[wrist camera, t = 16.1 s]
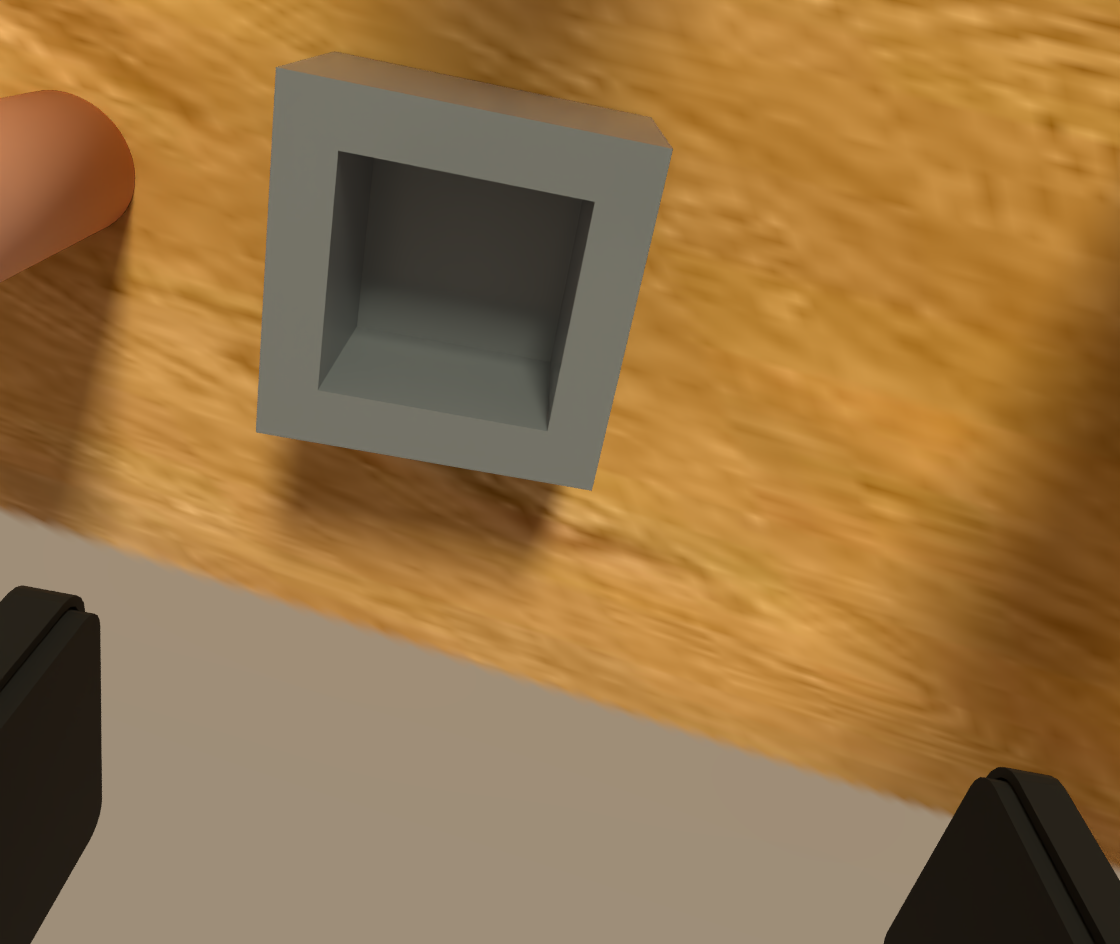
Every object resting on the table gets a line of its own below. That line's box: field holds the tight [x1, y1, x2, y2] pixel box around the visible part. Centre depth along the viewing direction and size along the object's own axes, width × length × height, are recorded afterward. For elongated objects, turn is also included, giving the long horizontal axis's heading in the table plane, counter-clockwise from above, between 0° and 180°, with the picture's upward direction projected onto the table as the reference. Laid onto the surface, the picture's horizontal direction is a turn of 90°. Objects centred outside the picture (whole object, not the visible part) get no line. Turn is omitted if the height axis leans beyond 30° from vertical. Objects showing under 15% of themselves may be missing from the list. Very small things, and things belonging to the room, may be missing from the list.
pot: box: [256, 51, 673, 491], centre depth 26 cm, size 9×9×6 cm
